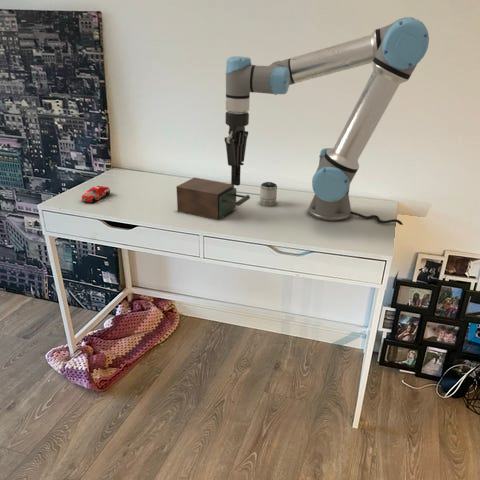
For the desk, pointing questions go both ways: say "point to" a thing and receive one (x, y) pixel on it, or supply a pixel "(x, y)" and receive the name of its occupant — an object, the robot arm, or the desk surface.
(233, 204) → the drawer
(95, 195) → the race car
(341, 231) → the desk surface
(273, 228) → the desk surface
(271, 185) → the camera lens
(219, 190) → the cabinet
